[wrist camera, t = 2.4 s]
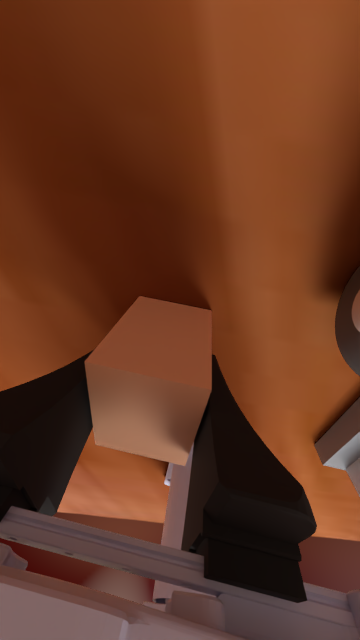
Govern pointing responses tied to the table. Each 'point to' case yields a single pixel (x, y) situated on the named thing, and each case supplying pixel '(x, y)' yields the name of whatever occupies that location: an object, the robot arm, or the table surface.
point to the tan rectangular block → (152, 380)
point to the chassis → (343, 444)
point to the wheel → (349, 323)
